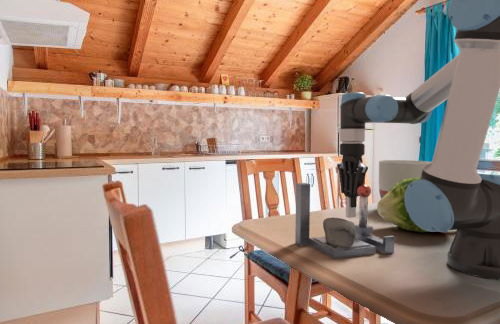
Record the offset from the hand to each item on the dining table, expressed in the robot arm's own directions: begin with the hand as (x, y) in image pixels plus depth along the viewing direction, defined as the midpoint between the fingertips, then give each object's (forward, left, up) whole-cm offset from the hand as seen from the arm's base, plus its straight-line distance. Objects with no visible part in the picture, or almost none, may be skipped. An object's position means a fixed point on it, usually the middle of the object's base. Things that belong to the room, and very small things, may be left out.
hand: (350, 216), depth 114 cm
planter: (+27, -46, -7) cm, 54 cm away
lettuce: (-1, -24, -7) cm, 25 cm away
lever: (-6, 0, -4) cm, 7 cm away
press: (-9, +9, -6) cm, 14 cm away
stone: (-11, +12, -4) cm, 16 cm away
